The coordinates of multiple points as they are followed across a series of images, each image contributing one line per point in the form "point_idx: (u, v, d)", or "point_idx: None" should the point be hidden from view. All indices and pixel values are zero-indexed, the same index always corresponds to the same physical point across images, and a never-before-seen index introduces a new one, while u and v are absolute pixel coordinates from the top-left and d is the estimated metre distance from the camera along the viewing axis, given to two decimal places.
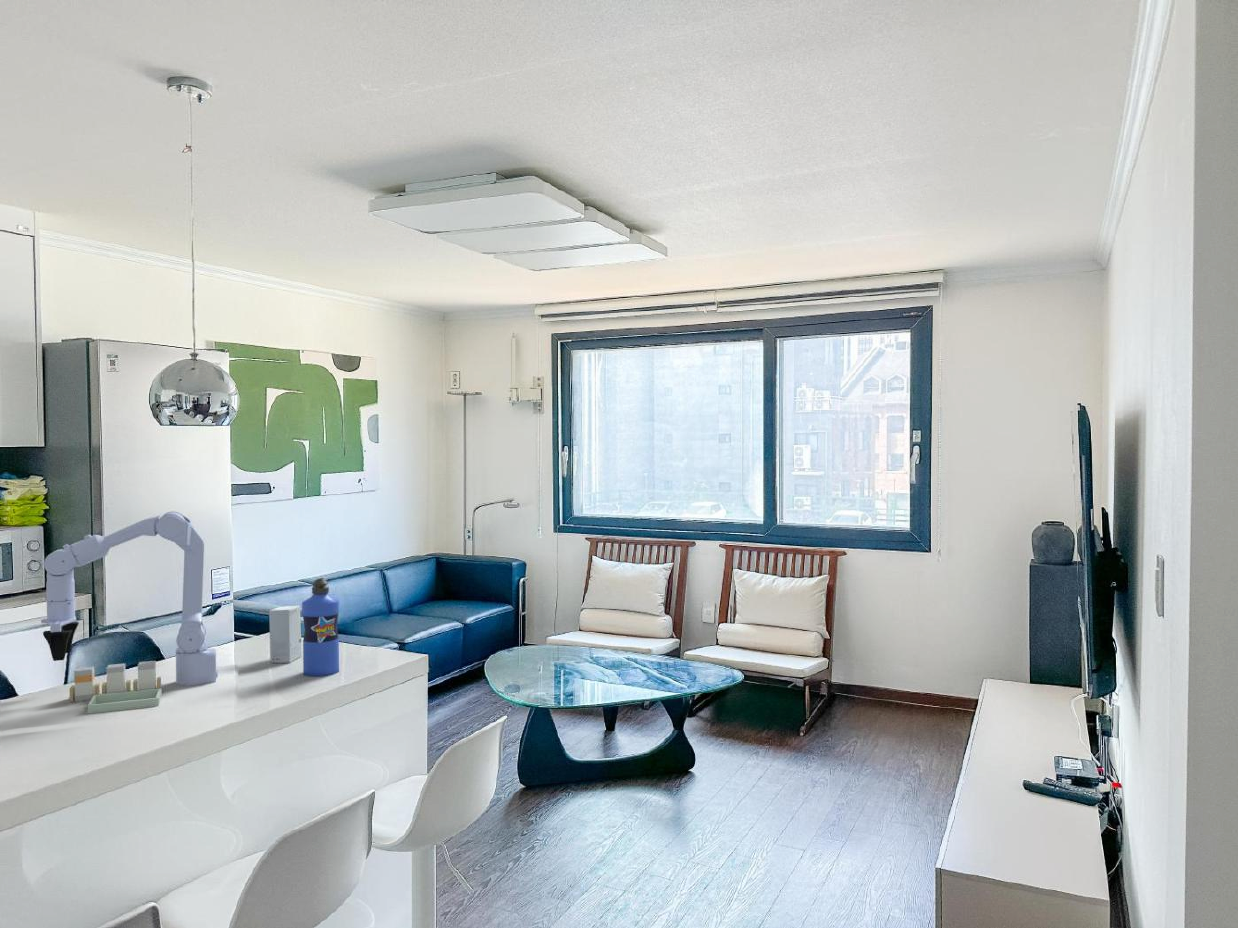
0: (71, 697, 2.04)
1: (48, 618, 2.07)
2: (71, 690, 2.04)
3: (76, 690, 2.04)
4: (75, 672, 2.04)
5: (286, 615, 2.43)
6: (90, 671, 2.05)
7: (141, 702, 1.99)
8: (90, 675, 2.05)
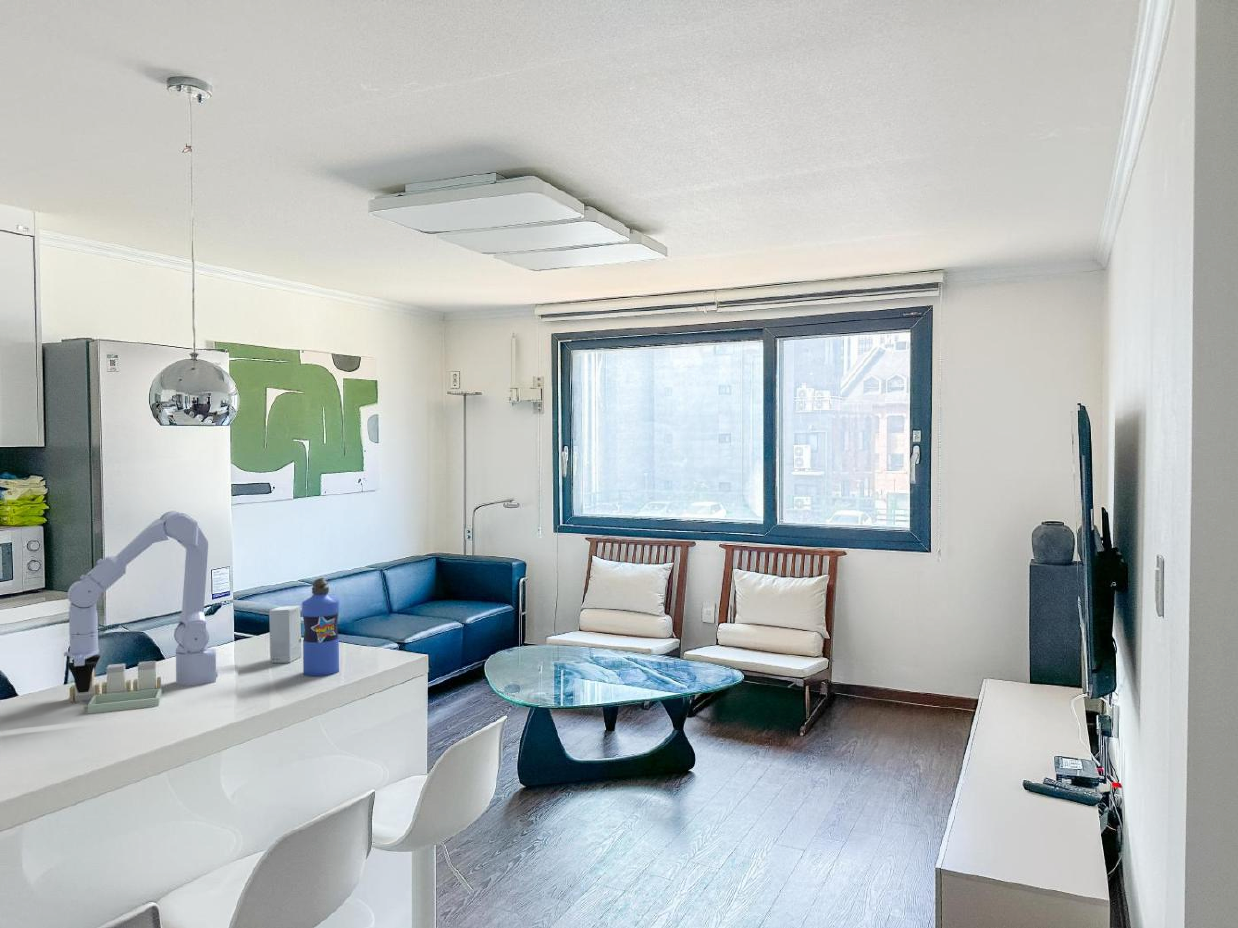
0: (71, 697, 2.04)
1: (71, 651, 2.04)
2: (71, 690, 2.04)
3: (76, 690, 2.04)
4: None
5: (286, 615, 2.43)
6: None
7: (141, 702, 1.99)
8: None
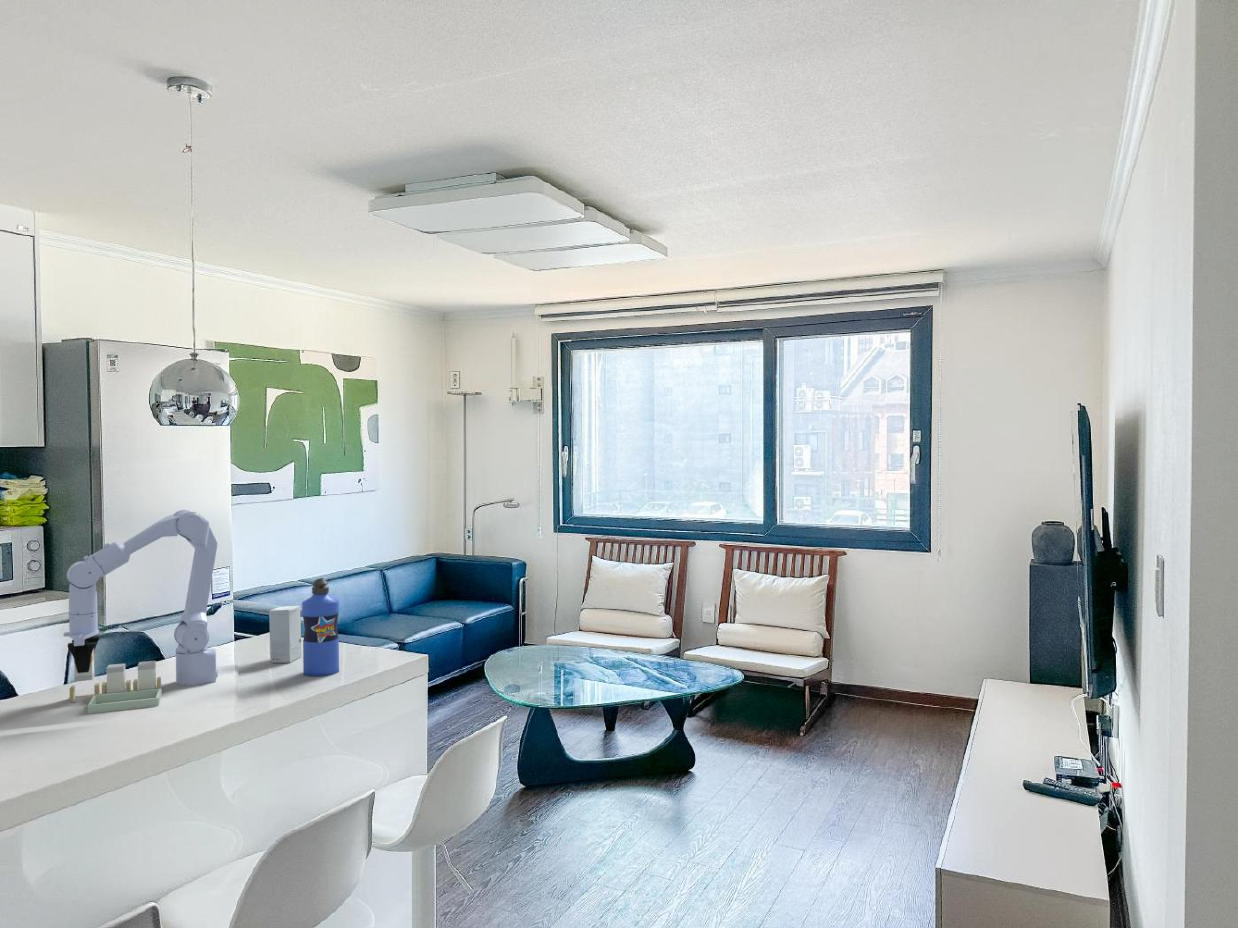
0: (71, 697, 2.04)
1: (71, 631, 2.04)
2: (71, 690, 2.04)
3: (76, 671, 2.04)
4: None
5: (286, 615, 2.43)
6: None
7: (141, 702, 1.99)
8: None
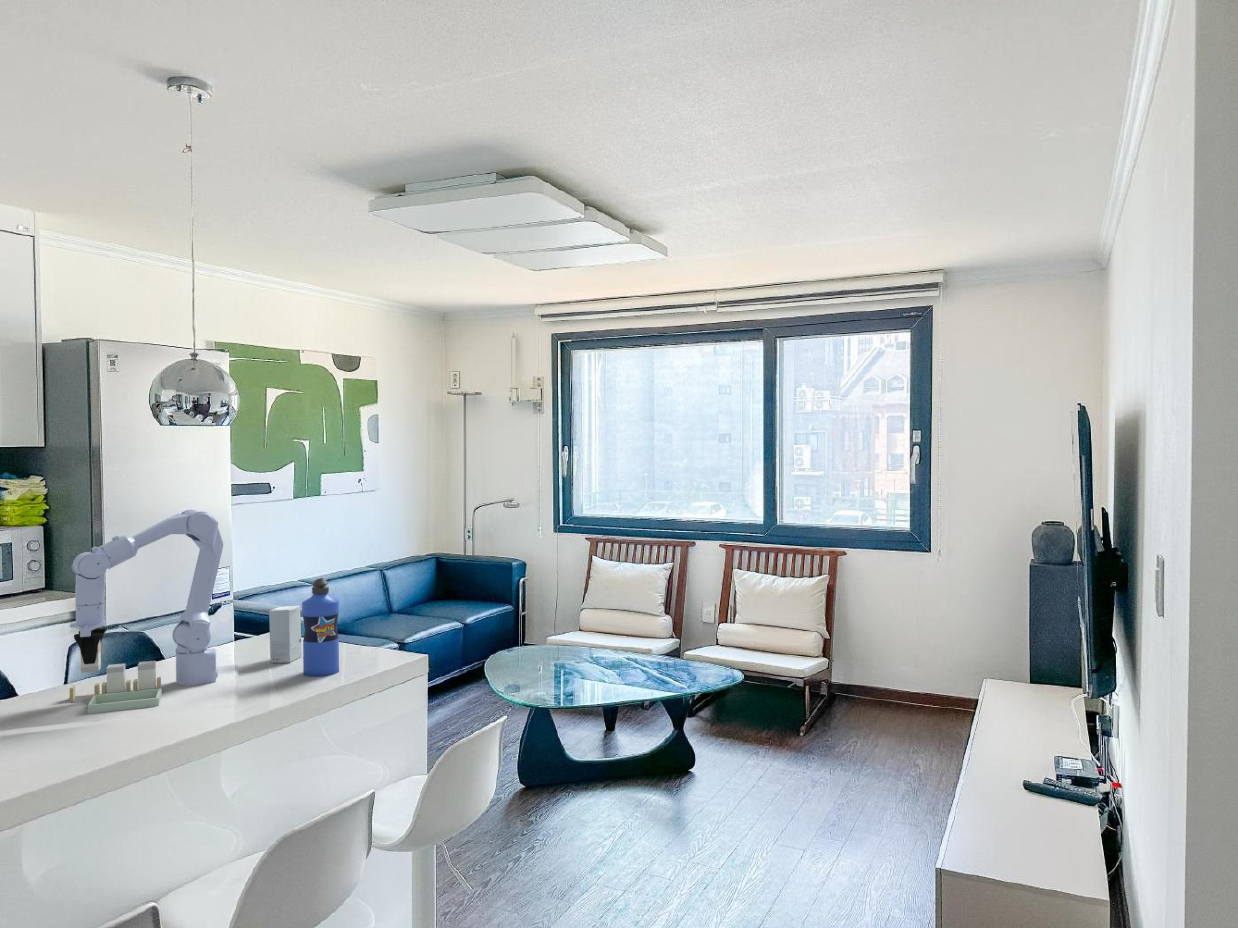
0: (71, 697, 2.04)
1: (77, 622, 2.02)
2: (71, 690, 2.04)
3: (82, 662, 2.03)
4: None
5: (286, 615, 2.43)
6: None
7: (141, 702, 1.99)
8: None
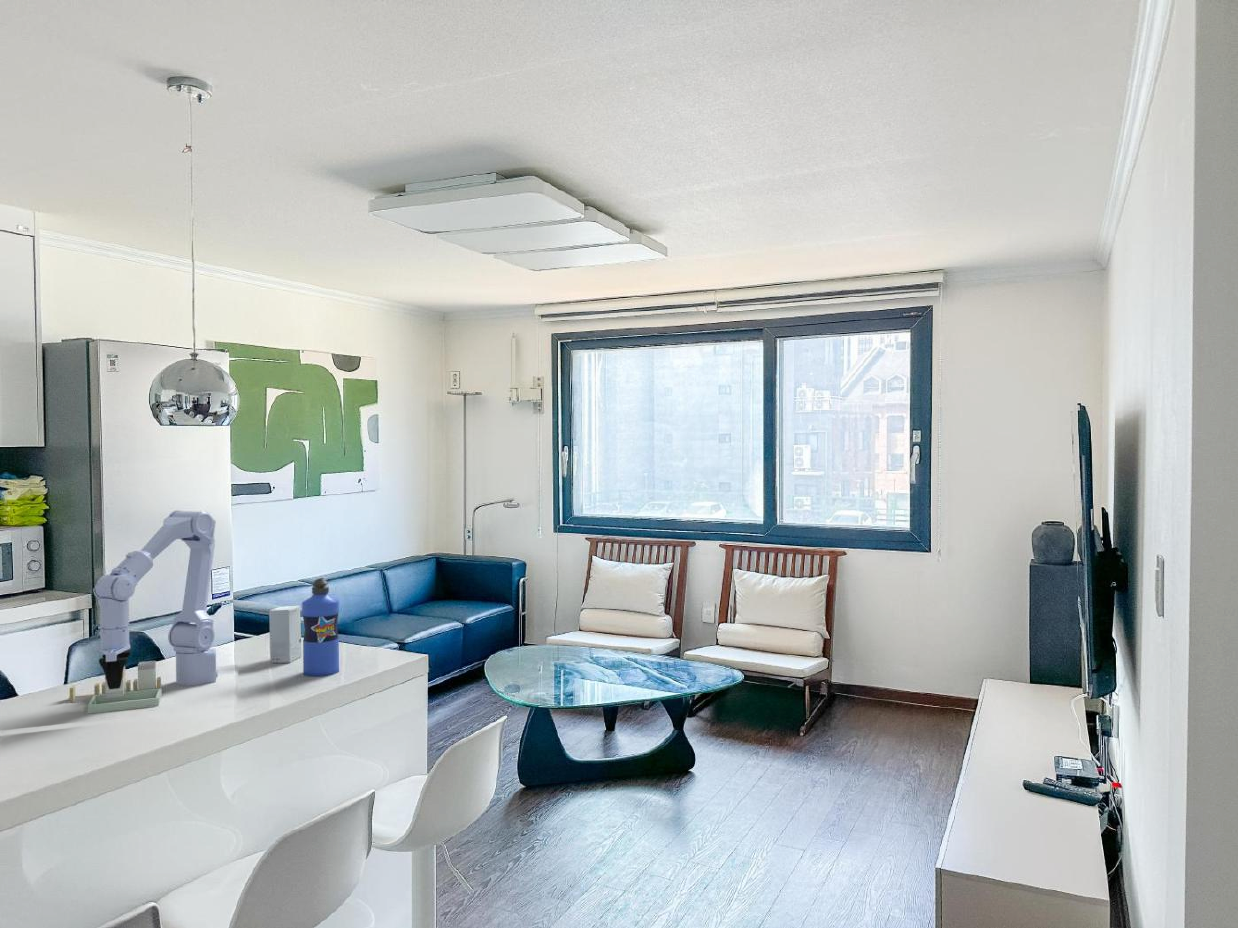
0: (71, 697, 2.04)
1: (102, 646, 1.98)
2: (71, 690, 2.04)
3: (107, 687, 1.98)
4: None
5: (286, 615, 2.43)
6: None
7: (141, 702, 1.99)
8: None
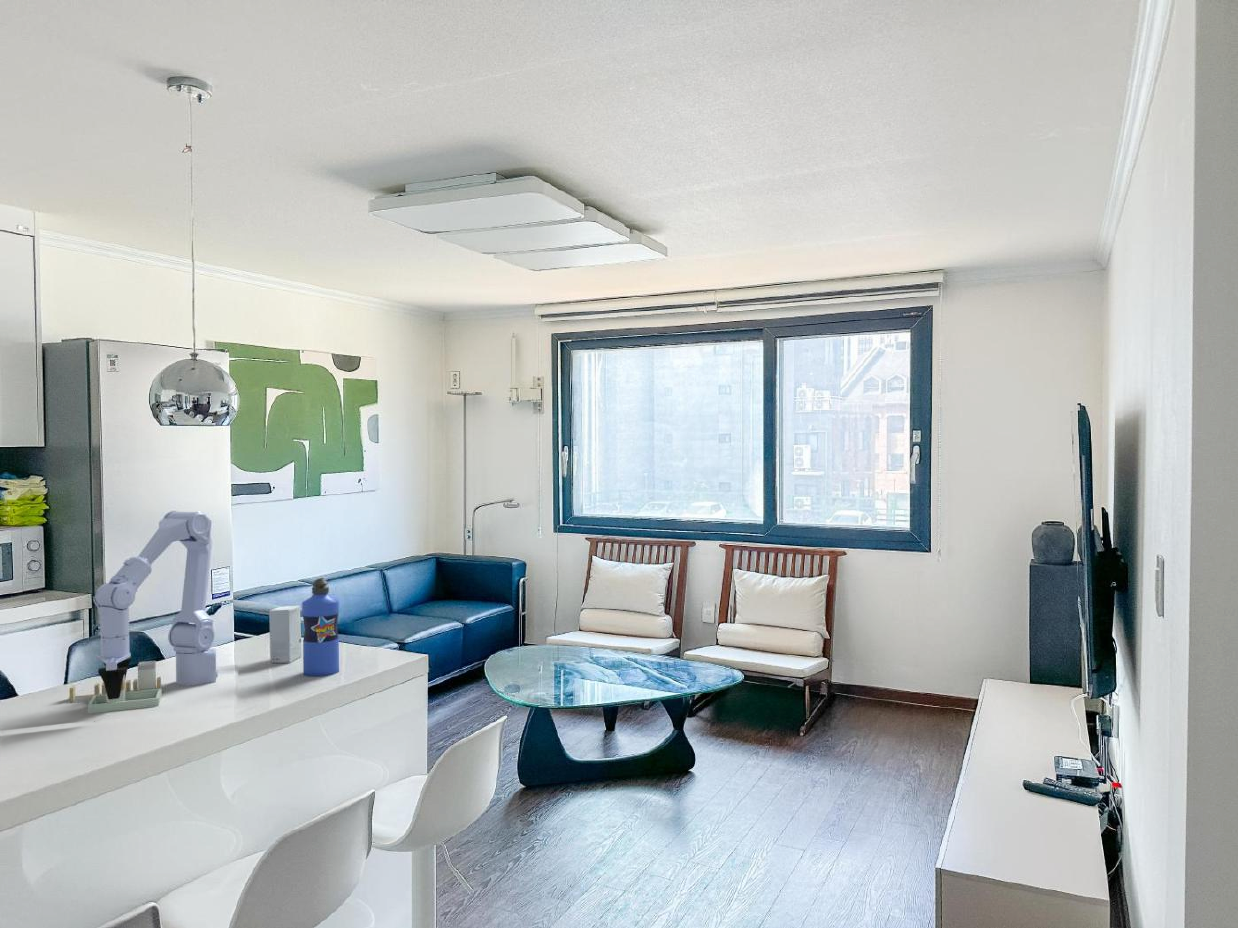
0: (71, 697, 2.04)
1: (102, 655, 1.98)
2: (71, 690, 2.04)
3: (107, 699, 1.98)
4: None
5: (286, 615, 2.43)
6: None
7: (141, 702, 1.99)
8: None
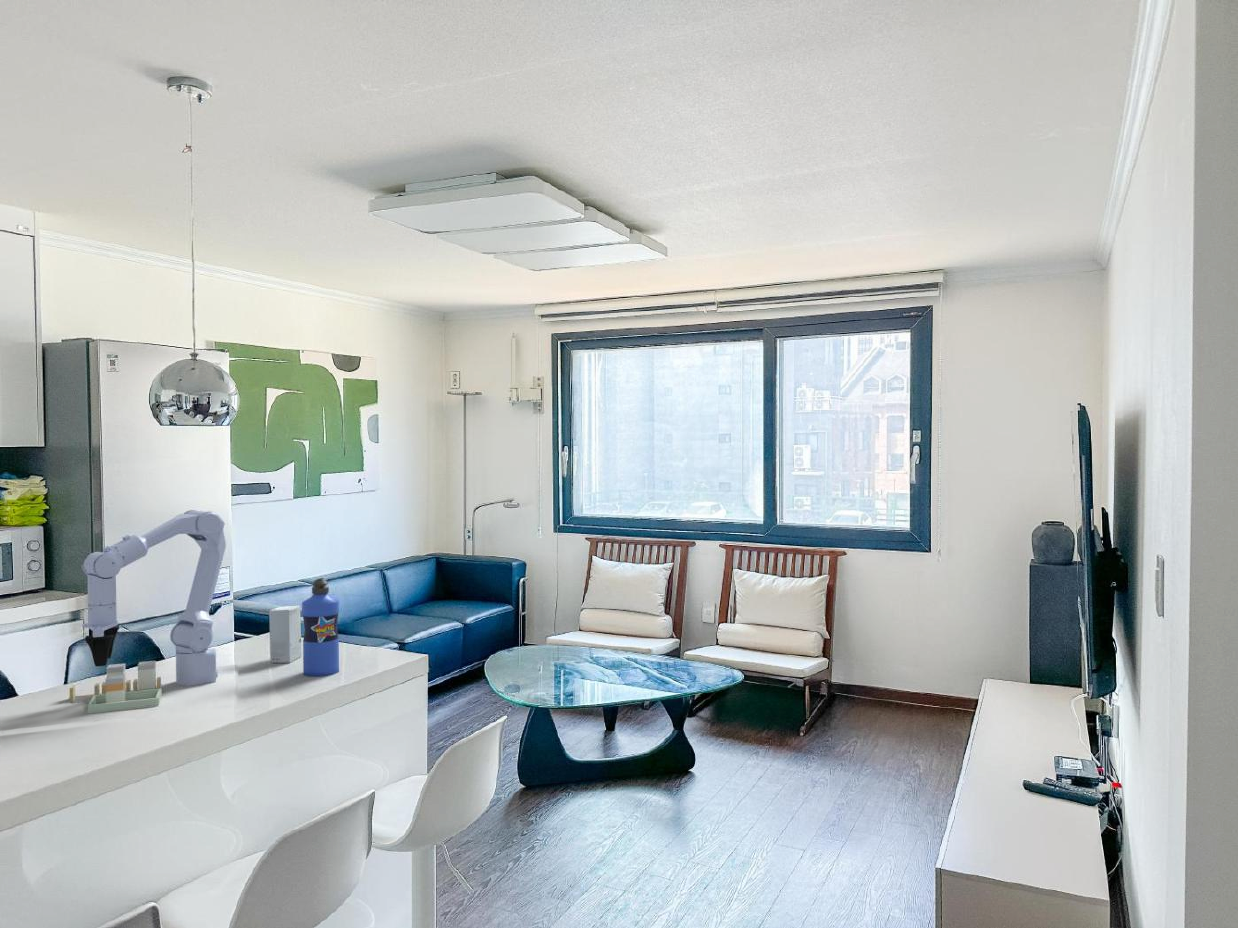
0: (71, 697, 2.04)
1: (89, 622, 2.01)
2: (71, 690, 2.04)
3: (107, 699, 1.98)
4: (106, 680, 1.98)
5: (286, 615, 2.43)
6: (121, 679, 1.99)
7: (141, 702, 1.99)
8: (121, 683, 1.99)
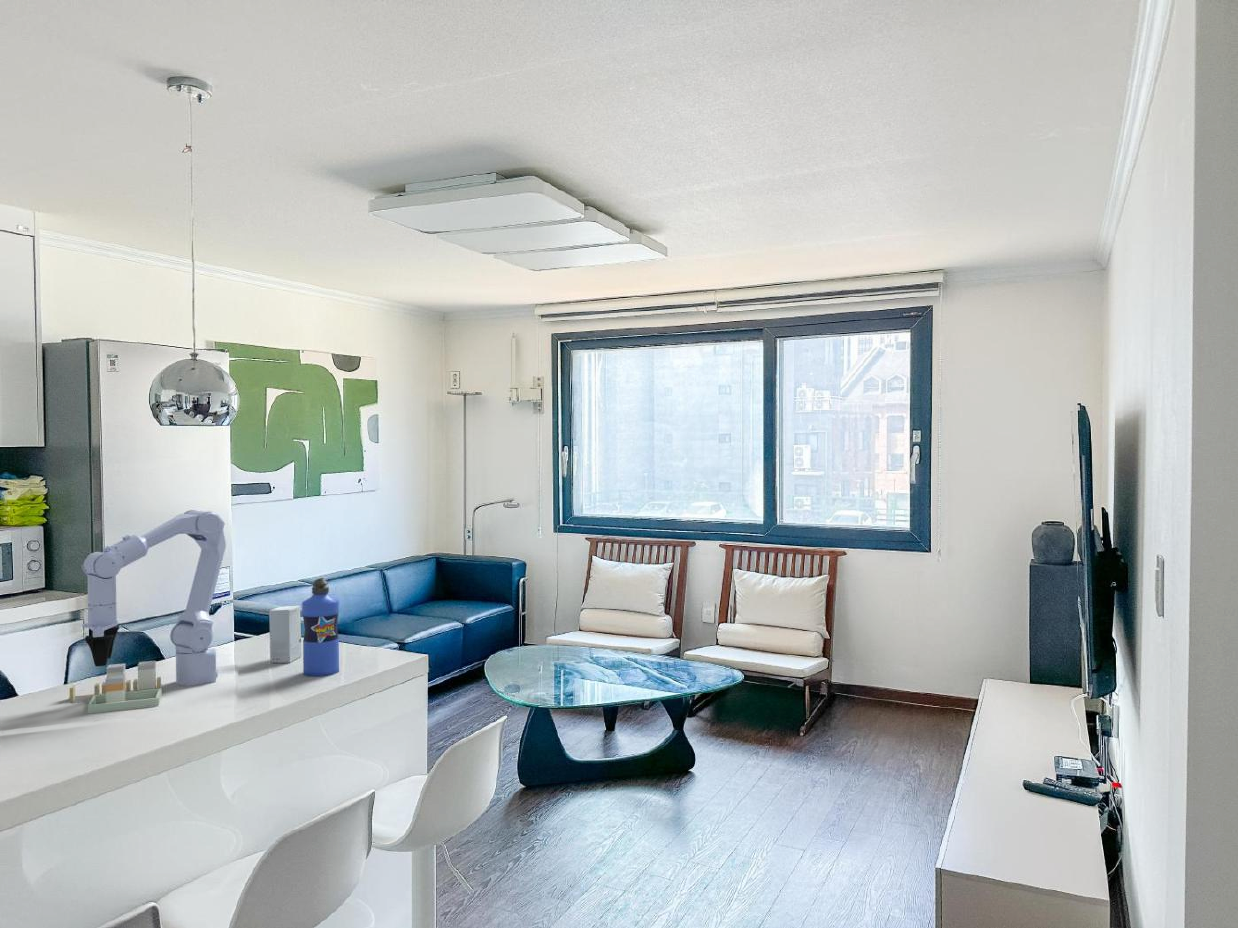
0: (71, 697, 2.04)
1: (89, 622, 2.01)
2: (71, 690, 2.04)
3: (107, 699, 1.98)
4: (106, 680, 1.98)
5: (286, 615, 2.43)
6: (121, 679, 1.99)
7: (141, 702, 1.99)
8: (121, 683, 1.99)
